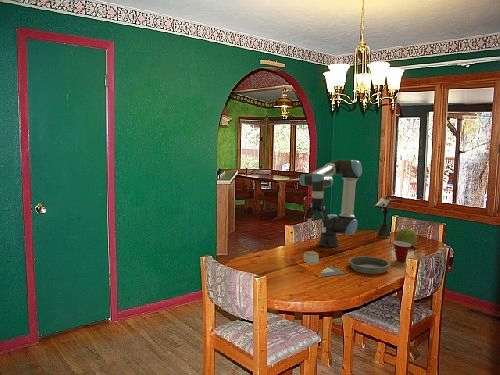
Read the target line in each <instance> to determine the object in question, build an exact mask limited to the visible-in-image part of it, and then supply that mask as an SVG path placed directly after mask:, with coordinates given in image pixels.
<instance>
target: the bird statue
mask: <svg viewBox="0 0 500 375" xmlns="http://www.w3.org/2000/svg"><path fill="white" fill-rule="evenodd" d="M388 197H389V194H386V195H385V197H381V198H380V199H379V201H378V202H377V203H376V204H374V205H373V208H375V207H376V208H379V209H381V212H382V214H383V217H382V223H381V226H380V227H379V229H378V232H377V233H376V237H377V238H380V239H391V238H392V237H393V236H392V234H391V230H390V228H389V225H388V224H387V215H388V213H389V209H388V207H389V205H390V204H391V203H392V202H393V200H394V199H392V198H390V197H389V199H388Z"/></svg>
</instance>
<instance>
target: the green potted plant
mask: <svg viewBox="0 0 500 375" xmlns="http://www.w3.org/2000/svg"><path fill="white" fill-rule="evenodd" d="M395 241H401V242H406V243H409V244H411V246H410V247H409V248H412V247H414V246H415V245H416V244H417V243H418V235H417V233H416V232H415V230H413V229H411V228H409V227H407V228H406V227H405V228H400V229H398V231H396V233H395V235H394V242H395Z"/></svg>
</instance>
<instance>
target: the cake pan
mask: <svg viewBox="0 0 500 375" xmlns="http://www.w3.org/2000/svg"><path fill="white" fill-rule="evenodd" d="M348 263H349V264H350V268H351V269H352V270H353V271H355V272H358V273H362V274H367V275H368V274H371V275H377V274H383V273H385V272H387V270H388V267H389V266H390V262H389V261H388V260H386V259H384V258H380V257H375V256H366V255H365V256H354V257H351V258H349V259H348Z"/></svg>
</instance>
